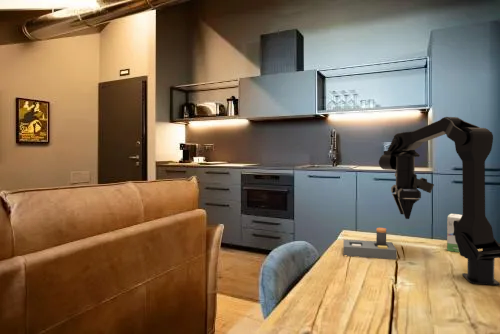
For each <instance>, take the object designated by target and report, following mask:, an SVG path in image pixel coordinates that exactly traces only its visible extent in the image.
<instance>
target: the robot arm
mask: <svg viewBox="0 0 500 334" xmlns="http://www.w3.org/2000/svg"><path fill="white" fill-rule="evenodd" d="M444 135H446V137H447V138H448V139H449V140H451V141H452V142H454V146H455V152H456V154H457V156H459V158H460V160H461V162H462V163H461V164H462V171H461V172H462V174H461V176H462V214H461V215H462V217H461V219H460V220H456V221H454V223H453V225H454V233H453V236H455V241H456V243H457V245H458V249H459V252H458V253H459V255H460V256H461V257H462V258H463V257H464V258H465V259H467V273H466V272H465V273H464V272H462V273H461V274H462V276H463V277H464V278H465V279H466V280H467V281H468V282H469V283H471V284H476V285H478V284H479V285H486V286H487V285H488V286H489V285H490V286H500V282H499V281H498V280H496V279H495V259H500V243H499V242H498V241H497V239H496V238H495V237H494V231H493V227H492V224H491V223H490V221H489V220H488V217H486V161H487V158H489V155H490V153H491V152H492V149H493V143H494V134H493V132H492V131H490V129H488V128H486V127H479V126H477V125H476V124H472V123H470V122H467V121H464V120H463V119H462V118H459V117H456V116H445V117H442V118H440V119H439V120H436V121H434V122H432V123H430V124H427V125H425V126H423V127H420V128H417V129H415V130H413V131H403V132H398V133H396V134H395V135H394V136H393V138H392V140H391V142H390V144H389V147H388V148H387V150H383V155H381V156H380V157H379V160H378V165H379V167H380V168H381V169H382V170H385V171H386V170H388V171H389V170H391V171H395V172H394V177H395V184H393V185H392V186H391V187H390V191H391V195H392V197H393V199H394V203H395V204H396V206H397V209H398V210H399V214H400V215H403V216H404V219H405V220H410V218H411V216H412V215H411V214H412V211H413V207H414V204H416V203H417V202H418V201H419V200H420V199H421V198H422V192H421V191H420V190H422V191H423V192H426V193H429V194H431V193H432V190H433V189H434V187H435V183H431V182H428V179H427V178H425V177H420V178H418V175H417V174H416V173H415V158H419V157H420V154H419V153H418V152H417V151H416V149H419V148H420V147H422V145H423V144H424V143H426V142H428V141H431V140H434V139H436V138H439V137H442V136H444Z"/></svg>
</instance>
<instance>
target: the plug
mask: <svg viewBox="0 0 500 334" xmlns="http://www.w3.org/2000/svg"><path fill="white" fill-rule="evenodd" d="M375 237H376V240H375V241H376V246H377V247H378V245H380V246H386V242H387V228H385V227H376V236H375Z"/></svg>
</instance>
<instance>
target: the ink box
mask: <svg viewBox="0 0 500 334" xmlns="http://www.w3.org/2000/svg"><path fill="white" fill-rule="evenodd" d="M462 215H463V214H458V213H450V214H448V215H447V219H446V220H447V223H446V226H447V227H446V229H447V230H446V232H447V233H446V235H447V236H446V237H447V238H446V240H447V241H446V251H448V252H454V251H455V253H460V252H459V249H458V245H457V243H456V241H455V236H453V233H454V225H453V223H454V221H456V220H460V219H461V217H462Z"/></svg>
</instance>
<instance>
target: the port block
mask: <svg viewBox="0 0 500 334" xmlns="http://www.w3.org/2000/svg"><path fill="white" fill-rule="evenodd" d="M395 246H396V245H394V242H393V241H386V246H380V245H378V247H377V246H376V240H374V241H373V240H360V239H359V240H357V239H343V256H344V255H347V256H346V257H354V256H359V257H358V258H368V257H370V259H384V260H387V259H388V260H397V257H398V256H397V251H398V249H397V248H396V247H395Z"/></svg>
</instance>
